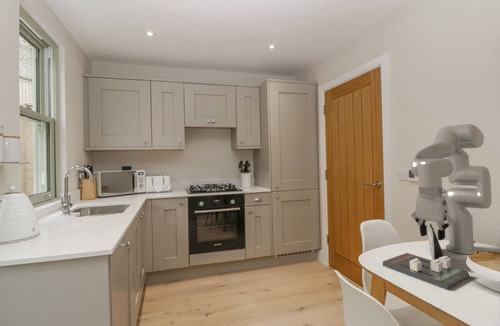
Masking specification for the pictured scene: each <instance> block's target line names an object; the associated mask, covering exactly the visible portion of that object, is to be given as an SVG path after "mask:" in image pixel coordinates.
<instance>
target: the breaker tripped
mask: <svg viewBox="0 0 500 326" xmlns="http://www.w3.org/2000/svg"><path fill="white" fill-rule="evenodd" d="M410 269H411V270H414V271H417V272H418V271H420V270H422V267H421V261H419V259H413V260H411V261H410Z"/></svg>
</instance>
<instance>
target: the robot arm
mask: <svg viewBox="0 0 500 326" xmlns="http://www.w3.org/2000/svg"><path fill="white" fill-rule="evenodd" d="M484 137H485V136H484V133H483V131H482V130H481V129H480V128H479V127H478V126H477V125H474V124H469V123H467V124H458V125H457V124H456V125H448V126H444V127H442V128H440V129H439V130H438V132H437V134H436V136H435V138H434V141H433V143H431V144H430V145H427V146H426V147H424V148H422V149H420V150H419V151H418V152H417V153H416V154H415V155H414V157H413V159H412V162H411V164H410V171H411V173H412V175H413V176H415V177H417V178H418V181H417V182H418V194H417V195H416V200H415V210H414V212H413V213H411V218H413V219H414V221H415V222H416V223H417V226H419V233H420V236H421V237H424V236H425V237H426V236H428V226H427V225H426V222H427V221H428V222H429V221H430V222H434V223H436V224H437V227H438V229H437V239H438V241H443V240H445V239H446V229H447V228H448V240H449V241H448V242H449V244H446V245H445V248H446V250H448V251H450V252H452V253H456V254H461V255H472V254H471V253H475V252H478V253H479V250H478V249H477V248H476V247H475V245H474V244H475V243H476V240H475V239H474V222H473V220H474V219H473V215H472V213H471V212H470V211H469V210H468V208H470V209H486V210H487V209H489V208H490V207H491V205H492V181H491V173H490V170H489V169H488V168H487V167H486V166H484V165H483V166H482V165H470V156H469V154H468V153H467V152H466V151H465V150H464V149H479V148H480V147H482V146H483V145H484V142H485V138H484ZM446 177H447V178H448V183H450V184H452V185H454V186H473V187H475V188H473V187H472V188H471V187H470V188H469V187H451V188H448V189H443V182H442V181H443V180H442V179H443V178H446ZM476 187H477V188H476ZM443 194H444V195H443ZM445 222H446V223H445Z"/></svg>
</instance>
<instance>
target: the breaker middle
mask: <svg viewBox="0 0 500 326" xmlns="http://www.w3.org/2000/svg"><path fill="white" fill-rule="evenodd" d="M431 270H433V271H436V272H441V271H443V262H441V261H440V260H439V259H436V260H433V259H432V261H431Z"/></svg>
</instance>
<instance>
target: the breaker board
mask: <svg viewBox="0 0 500 326" xmlns="http://www.w3.org/2000/svg"><path fill="white" fill-rule="evenodd" d="M413 259H419V261H421V267H422V270H420V271H418V272H417V271H414V270H411V269H410V261H411V260H413ZM431 261H433V259H432V260H431V259H429V258H424V257H423V256H418V255H415V254H412V253H408V252H406V253H403V254H400V255H397V256H395V257H391V258H389V259H386V260H383V261H382V267H385V268H388V269H390V270H394V271H395V272H399V273H401V274H403V275H407V276H409V277H412V278H415V279H416V280H420V281H422V282H425V283H428V284H430V285H433V286H435V287H439V288H441V289H443V290H446V291H449V290H450V289H452V288H454V287H456V286H458V285H459V284H461V282H462V283H463V281H464V282H465V280H466V281H467V280H469V279H471V278H470V275H469V273H468V272H467V271H468V270H464V269H462V268H458V267H456V266H452V265H451V267H450V268H448V269H446V268H443V271H441V272H436V271H433V270H431Z"/></svg>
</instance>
